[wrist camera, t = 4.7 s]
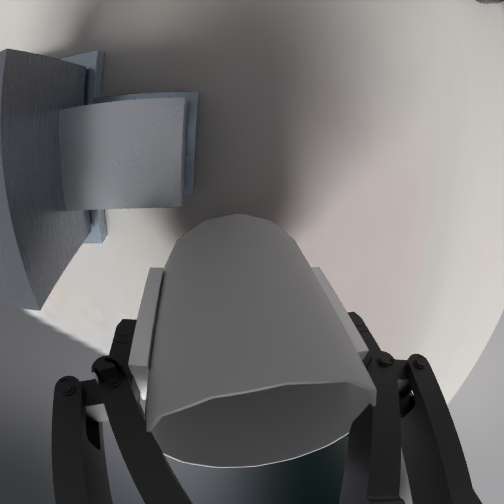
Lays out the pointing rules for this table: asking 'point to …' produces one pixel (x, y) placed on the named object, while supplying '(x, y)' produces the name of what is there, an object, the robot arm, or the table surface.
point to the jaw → (73, 167)
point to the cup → (248, 351)
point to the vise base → (93, 96)
